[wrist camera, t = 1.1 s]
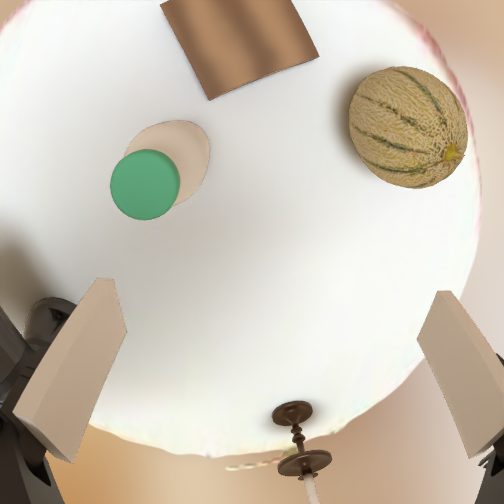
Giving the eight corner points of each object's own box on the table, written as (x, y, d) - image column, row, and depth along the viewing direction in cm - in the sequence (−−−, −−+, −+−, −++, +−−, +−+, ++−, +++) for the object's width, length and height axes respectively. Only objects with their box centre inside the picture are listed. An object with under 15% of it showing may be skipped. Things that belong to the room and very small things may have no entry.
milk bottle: (201, 112, 34) (184, 109, 16) (217, 170, 38) (217, 227, 20) (142, 131, 34) (72, 151, 16) (159, 187, 38) (111, 256, 20)
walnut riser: (209, 100, 34) (208, 99, 31) (163, 12, 27) (159, 4, 25) (312, 60, 32) (319, 56, 30) (266, -26, 26) (270, -35, 24)
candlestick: (301, 426, 64) (334, 553, 33) (260, 422, 62) (284, 562, 30) (324, 400, 60) (370, 540, 29) (281, 395, 58) (317, 553, 26)
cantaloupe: (357, 51, 32) (423, 31, 19) (433, 108, 36) (506, 119, 22) (312, 143, 37) (364, 162, 24) (394, 190, 41) (459, 228, 28)
